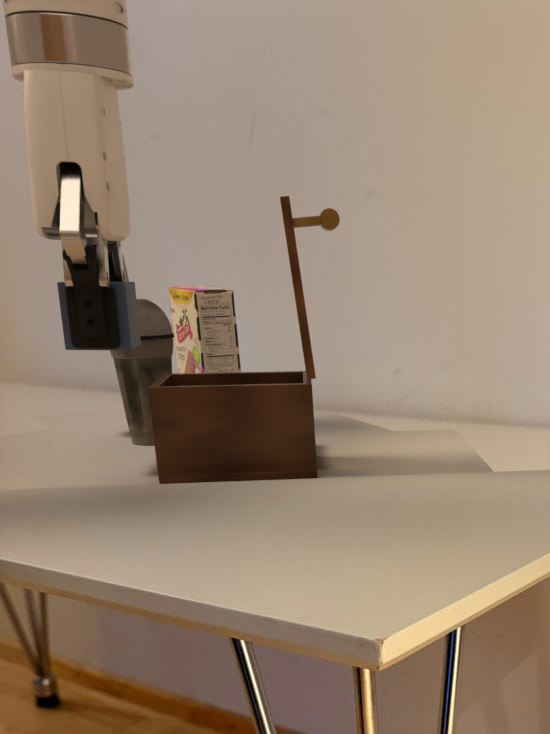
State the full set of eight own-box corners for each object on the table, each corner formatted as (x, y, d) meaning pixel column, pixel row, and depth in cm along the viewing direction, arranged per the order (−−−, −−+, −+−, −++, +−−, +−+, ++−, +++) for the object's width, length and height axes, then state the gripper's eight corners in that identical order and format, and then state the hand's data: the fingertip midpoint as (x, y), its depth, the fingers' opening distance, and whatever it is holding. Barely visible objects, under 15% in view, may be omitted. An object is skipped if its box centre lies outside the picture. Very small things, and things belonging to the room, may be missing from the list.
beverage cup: (199, 439, 114) (179, 254, 106) (148, 449, 108) (123, 254, 101) (157, 434, 117) (135, 254, 110) (105, 443, 112) (79, 254, 104)
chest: (159, 484, 91) (147, 387, 88) (173, 460, 102) (163, 373, 99) (317, 478, 94) (311, 383, 90) (315, 456, 104) (310, 370, 101)
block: (65, 350, 69) (56, 282, 68) (78, 344, 73) (70, 280, 72) (131, 350, 70) (124, 283, 68) (141, 345, 74) (134, 281, 72)
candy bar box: (181, 422, 126) (165, 286, 120) (219, 418, 128) (206, 285, 123) (208, 434, 117) (192, 288, 111) (248, 430, 120) (235, 287, 114)
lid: (279, 196, 85) (337, 191, 85) (282, 203, 95) (333, 198, 96) (307, 379, 90) (361, 373, 91) (306, 366, 101) (354, 361, 102)
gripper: (42, 75, 72) (74, 335, 79) (-29, 27, 57) (18, 355, 63) (148, 81, 73) (171, 336, 80) (108, 35, 58) (140, 356, 65)
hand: (103, 341), depth 72 cm, fingers closed on block, 4 cm apart
